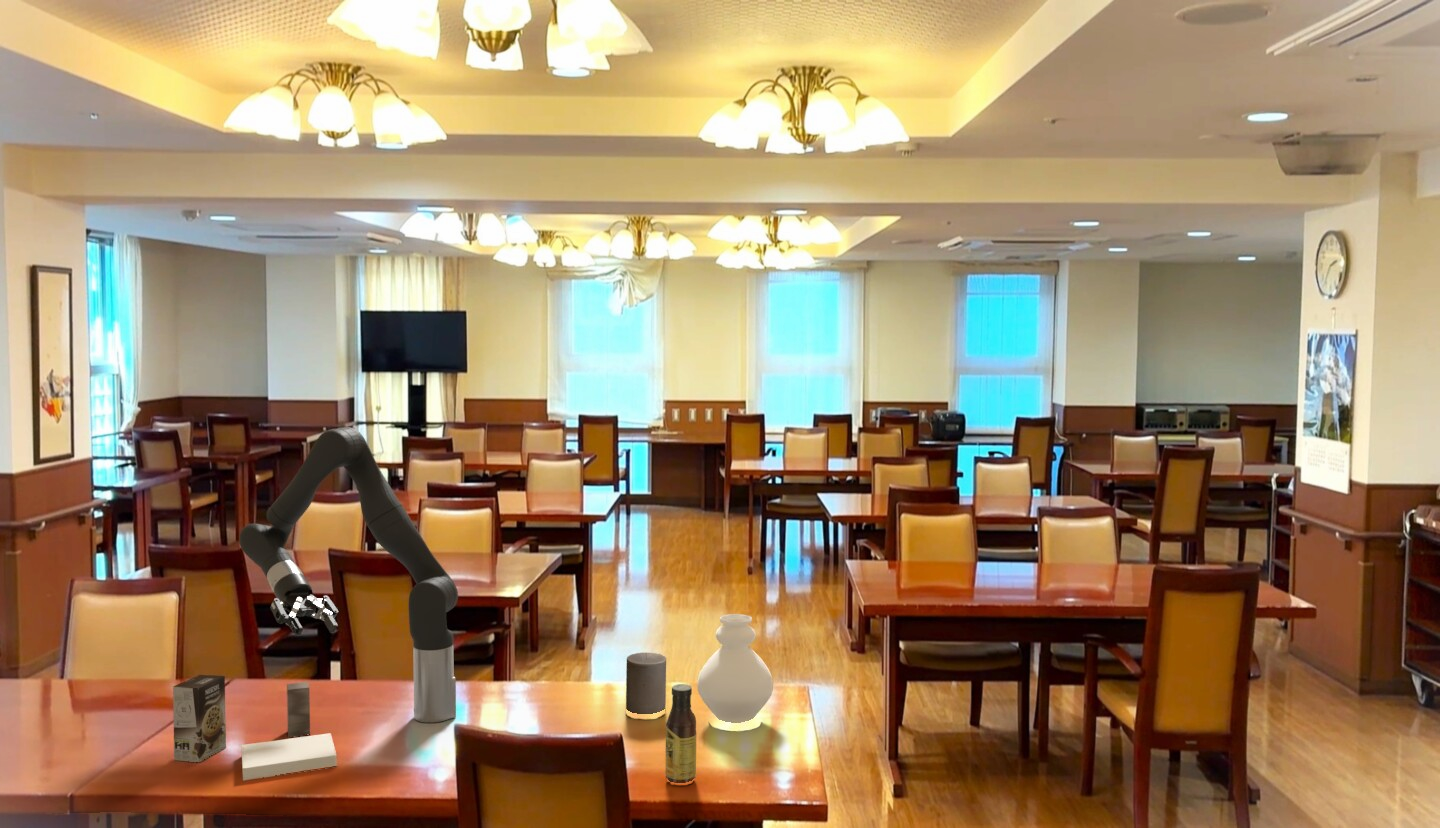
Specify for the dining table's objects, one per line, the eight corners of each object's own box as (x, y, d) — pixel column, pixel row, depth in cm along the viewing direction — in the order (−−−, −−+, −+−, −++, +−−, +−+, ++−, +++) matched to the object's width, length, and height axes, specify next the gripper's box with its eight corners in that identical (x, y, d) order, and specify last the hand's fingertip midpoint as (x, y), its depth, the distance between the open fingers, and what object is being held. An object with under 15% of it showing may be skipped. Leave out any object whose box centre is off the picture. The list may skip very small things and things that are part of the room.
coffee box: (199, 763, 228) (198, 688, 227) (173, 760, 230) (171, 686, 229) (227, 747, 237) (226, 675, 236) (201, 745, 239) (200, 673, 238)
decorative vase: (767, 738, 245) (768, 629, 244) (690, 733, 248) (691, 625, 247) (776, 712, 263) (778, 610, 261) (704, 707, 266) (705, 607, 264)
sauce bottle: (664, 775, 224) (665, 681, 222) (695, 775, 224) (695, 680, 223) (665, 788, 217) (666, 691, 216) (697, 788, 218) (697, 690, 216)
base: (330, 744, 240) (330, 733, 240) (336, 766, 227) (336, 755, 227) (241, 756, 232) (241, 745, 232) (242, 780, 220) (242, 768, 219)
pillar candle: (617, 715, 260) (618, 654, 258) (641, 704, 268) (642, 644, 267) (650, 723, 254) (651, 661, 253) (674, 711, 263) (674, 651, 262)
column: (308, 728, 249) (307, 681, 249) (310, 735, 245) (309, 687, 245) (287, 731, 247) (286, 684, 247) (288, 738, 243) (287, 689, 243)
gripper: (266, 573, 248) (294, 621, 240) (322, 570, 260) (351, 616, 251) (254, 597, 251) (282, 646, 242) (310, 594, 262) (339, 641, 253)
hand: (317, 631), depth 246 cm, fingers open, 8 cm apart
